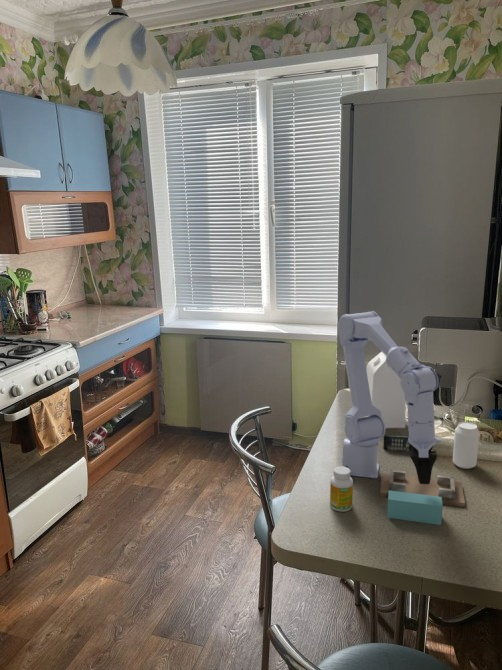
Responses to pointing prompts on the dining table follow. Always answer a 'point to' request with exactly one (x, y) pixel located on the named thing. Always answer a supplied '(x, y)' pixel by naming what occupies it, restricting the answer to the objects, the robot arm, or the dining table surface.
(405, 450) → the mobile phone
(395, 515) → the teal rectangular block
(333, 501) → the supplement bottle
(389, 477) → the wooden bracket tray
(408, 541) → the dining table surface
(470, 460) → the beverage can
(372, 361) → the milk
